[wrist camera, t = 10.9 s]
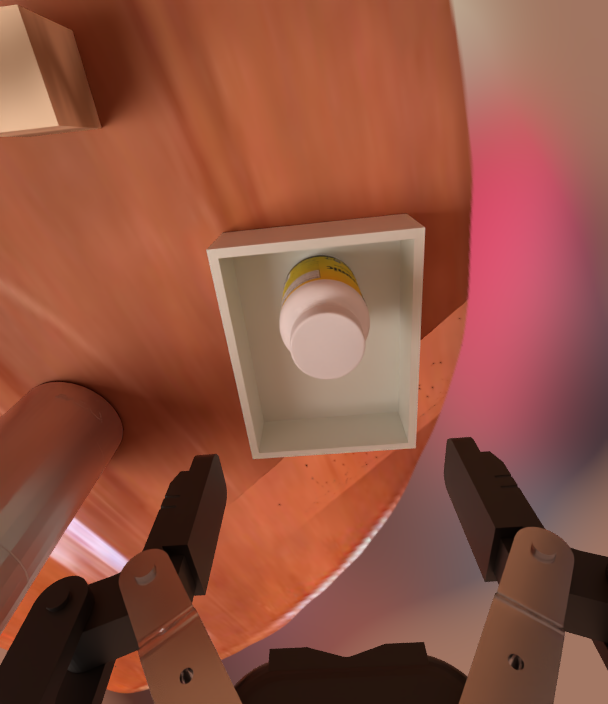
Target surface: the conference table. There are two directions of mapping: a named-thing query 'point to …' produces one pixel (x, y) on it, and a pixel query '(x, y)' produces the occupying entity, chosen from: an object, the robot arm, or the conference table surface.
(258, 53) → the conference table surface
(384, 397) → the box
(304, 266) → the supplement bottle
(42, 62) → the birch cube
